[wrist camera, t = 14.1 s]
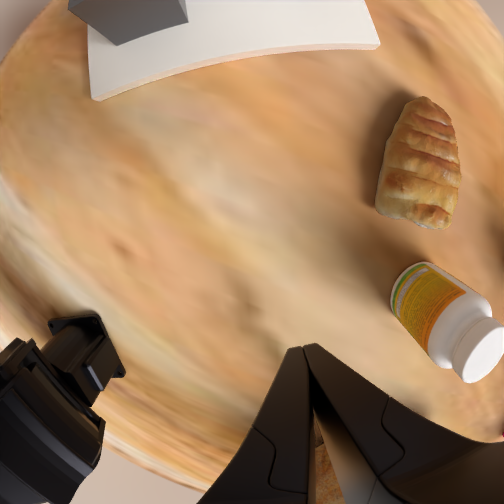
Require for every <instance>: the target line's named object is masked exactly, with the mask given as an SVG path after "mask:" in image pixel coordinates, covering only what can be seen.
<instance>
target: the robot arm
mask: <svg viewBox="0 0 504 504" xmlns="http://www.w3.org/2000/svg"><path fill="white" fill-rule="evenodd" d="M94 319H95V320H96V321H97V322H96V321H95V320H94ZM48 326H49V329H50V331H51V333H52V335H53V337H52V338H51V339H50V340H49V341H48V342H47V343H46V344H45V345H44V346H43V348H42V349H41V350H39V348H38V347H37V346H36V343H35V341H34V340H33V339H32V338H31V339H30V340H29V341H27V342H25V341H22V340H21V339H19V338H16V339H14V340H13V341H12V342H11V343H10V344H9V345H8V346H7V347H6V348H5V349H4V350H3V351H2V352H1V353H0V504H41V503H46V502H49V503H50V504H69V503H70V502H71V500H72V498H73V496H74V494H75V492H76V490H77V489H78V487H79V485H80V484H81V483H82V482H83V480H84V479H85V478H86V477H87V476H88V475H89V474H90V473H91V472H92V471H93V470H94V469H95V467H96V466H97V464H98V462H99V460H100V456H101V450H102V443H103V436H104V430H105V424H106V421H105V420H104V419H103V418H101V417H99V416H98V415H97V414H96V413H95V412H94V411H93V410H92V409H91V408H90V407H92V405H93V404H94V402H95V400H96V398H97V397H98V395H99V393H100V391H104V389H105V387H106V386H107V384H108V382H109V380H110V379H111V378H123V377H124V376H125V374H126V371H125V369H124V367H123V365H122V363H121V361H120V359H119V357H118V355H117V353H116V351H115V349H114V346H113V344H112V342H111V340H110V338H109V336H108V334H107V331H106V329H105V327H104V324H103V322H102V320H101V318H100V316H99V315H97V314H90V315H82V316H73V317H64V318H55V319H50V320H49V321H48ZM120 372H121V373H120ZM389 397H390V396H389V395H388V394H386V393H385V392H383V391H382V390H381V389H379V388H378V387H376V386H375V385H373V384H372V383H371V382H369V381H368V380H366V379H365V378H364V377H362V376H361V375H360V374H358V373H357V372H355V371H354V370H353V369H351V368H350V367H348V366H347V365H346V364H344V363H343V362H342V361H340V360H339V359H338V358H336V357H335V356H333V355H332V354H331V353H329V352H328V351H327V350H325V349H324V348H323V347H321V346H320V345H319V344H317V343H312V344H308V345H304V346H303V348H302V347H301V346H297V347H292V348H289V349H288V350H287V352H286V354H285V356H284V359H283V361H282V363H281V365H280V368H279V370H278V372H277V374H276V376H275V378H274V381H273V383H272V385H271V387H270V389H269V391H268V393H267V395H266V398H265V400H264V402H263V404H262V406H261V408H260V410H259V412H258V414H257V416H256V418H255V420H254V422H253V424H252V427H251V428H250V430H249V432H248V433H247V435H246V437H245V439H244V441H243V443H242V444H241V446H240V448H239V449H238V451H237V453H236V454H235V456H234V457H233V459H232V460H231V461H230V463H229V464H228V466H227V467H226V468H225V470H224V471H223V472H222V473H221V475H220V476H219V477H218V478H217V480H216V481H215V482H214V483H213V485H212V486H211V487H210V488H209V490H208V491H207V492H206V493H205V494H204V496H203V497H202V498H201V499H200V500H199V502H198V503H197V504H316V454H315V423H314V414H315V417H316V421H317V424H318V426H319V429H320V432H321V435H322V438H323V440H324V443H325V446H326V449H327V452H328V455H329V457H330V460H331V463H332V466H333V469H334V472H335V475H336V477H337V480H338V483H339V486H340V489H341V492H342V495H343V497H344V500H345V503H346V504H504V441H503V442H495V443H484V442H478V441H474V440H471V439H469V438H466V437H464V436H462V435H460V434H457V433H455V432H453V431H451V430H449V429H447V428H444V427H442V426H440V425H438V424H436V423H434V422H432V421H430V420H428V419H426V418H424V417H422V416H421V415H419V414H417V413H415V412H413V411H412V410H410V409H409V408H407V407H405V406H404V405H402V404H401V403H399V402H398V401H396V400H395V399H394V398H392V397H390V398H389ZM313 410H314V411H313Z"/></svg>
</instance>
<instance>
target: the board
mask: <svg viewBox="0 0 504 504" xmlns="http://www.w3.org/2000/svg"><path fill="white" fill-rule="evenodd" d="M185 3H186V9H187V15H188V21H189V23H185V24H181V25H177V26H174V27H170V28H167V29H164V30H160V31H157V32H154V33H151V34H148V35H145V36H142V37H140V38H137V39H134V40H131V41H129V42H126V43H124V44H121V45H119V46H116V45H114V44H113V43H112V42H111V41H109V40H108V39H107V38H105V37H104V36H103V35H102V34H100V33H99V32H98V31H96V30H95V29H94V28H92V27H91V26H90V25H88V61H89V76H90V88H91V98H92V99H93V100H96V101H99V102H100V101H103V100H105V99H107V98H110V97H112V96H115V95H117V94H120V93H122V92H125V91H127V90H130V89H133V88H135V87H138V86H141V85H144V84H147V83H150V82H153V81H156V80H159V79H162V78H165V77H168V76H172V75H175V74H179V73H182V72H186V71H189V70H193V69H197V68H201V67H205V66H210V65H214V64H219V63H223V62H228V61H233V60H239V59H244V58H250V57H257V56H263V55H271V54H279V53H288V52H299V51H313V50H337V49H360V50H375V49H376V48H377V47H378V46H379V45H381V44H380V41H379V38H378V35H377V32H376V30H375V27H374V24H373V22H372V19H371V16H370V14H369V11H368V9H367V6H366V4H365V2H364V0H185Z"/></svg>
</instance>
